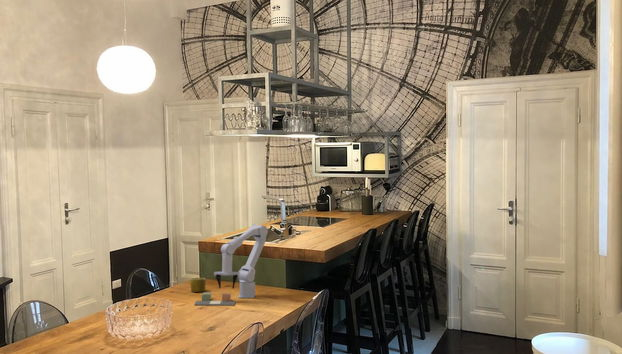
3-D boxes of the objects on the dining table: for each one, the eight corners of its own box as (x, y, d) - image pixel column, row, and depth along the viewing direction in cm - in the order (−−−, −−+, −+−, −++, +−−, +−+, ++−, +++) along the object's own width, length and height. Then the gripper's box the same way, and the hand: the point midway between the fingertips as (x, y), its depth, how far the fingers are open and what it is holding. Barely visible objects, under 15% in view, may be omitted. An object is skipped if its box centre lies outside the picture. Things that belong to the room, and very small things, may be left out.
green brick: (210, 299, 298) (211, 292, 298) (209, 301, 293) (210, 294, 293) (203, 299, 298) (203, 292, 298) (201, 301, 293) (202, 294, 293)
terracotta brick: (230, 299, 298) (230, 292, 298) (230, 301, 294) (230, 294, 294) (222, 299, 298) (222, 292, 298) (221, 301, 293) (222, 294, 293)
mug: (206, 290, 310) (202, 274, 312) (190, 295, 310) (186, 279, 312) (211, 290, 322) (207, 274, 324) (196, 294, 322) (192, 279, 324)
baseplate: (235, 302, 293) (235, 300, 293) (234, 305, 285) (234, 304, 285) (196, 301, 291) (196, 300, 291) (194, 305, 283) (194, 304, 283)
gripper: (213, 265, 291) (213, 289, 291) (239, 266, 292) (238, 289, 292) (215, 263, 298) (214, 286, 298) (240, 263, 299) (239, 287, 299)
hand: (226, 288), depth 296 cm, fingers open, 7 cm apart
